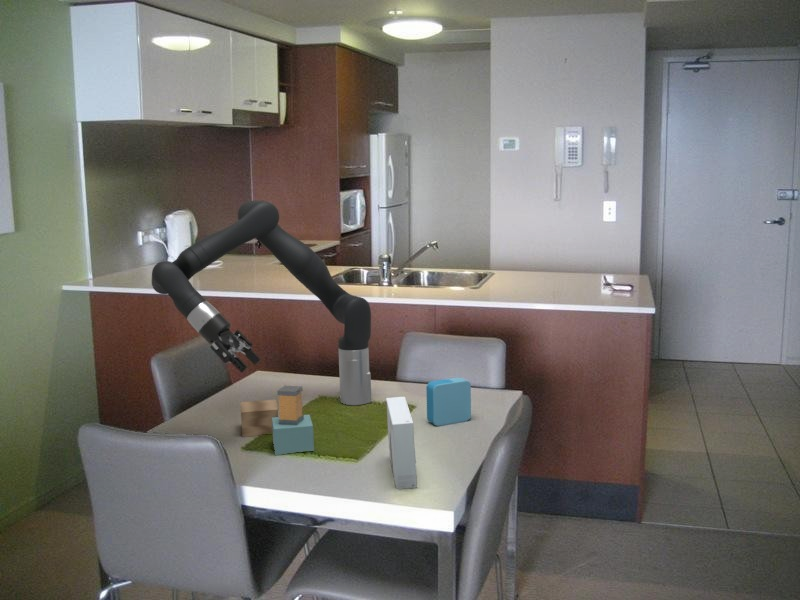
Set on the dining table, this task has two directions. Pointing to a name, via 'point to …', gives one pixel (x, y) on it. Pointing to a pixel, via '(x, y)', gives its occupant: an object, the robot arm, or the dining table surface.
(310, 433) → the stand
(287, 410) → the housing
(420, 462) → the dining table surface
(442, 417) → the blue rounded flat block
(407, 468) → the skincare box
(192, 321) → the robot arm
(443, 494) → the dining table surface
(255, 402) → the stand
